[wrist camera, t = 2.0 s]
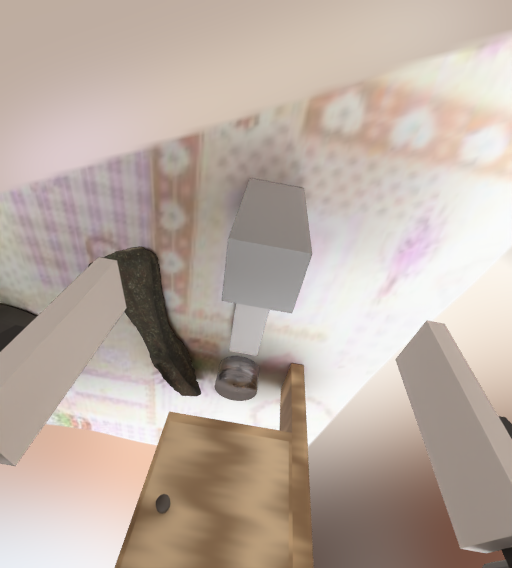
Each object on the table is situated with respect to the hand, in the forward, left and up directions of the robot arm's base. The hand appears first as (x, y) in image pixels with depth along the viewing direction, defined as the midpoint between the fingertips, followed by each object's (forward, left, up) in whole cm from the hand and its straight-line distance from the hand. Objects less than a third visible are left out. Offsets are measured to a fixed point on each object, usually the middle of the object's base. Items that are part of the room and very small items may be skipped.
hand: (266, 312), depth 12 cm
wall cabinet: (0, -22, -12) cm, 25 cm away
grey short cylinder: (0, -22, -12) cm, 25 cm away
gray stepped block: (0, -7, -12) cm, 13 cm away
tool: (-11, -17, -12) cm, 23 cm away
